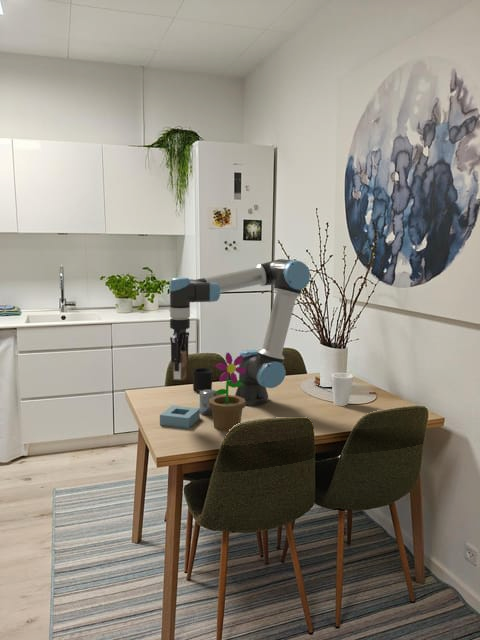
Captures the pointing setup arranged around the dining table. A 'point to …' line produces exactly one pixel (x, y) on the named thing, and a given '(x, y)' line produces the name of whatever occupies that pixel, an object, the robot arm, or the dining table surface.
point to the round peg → (206, 401)
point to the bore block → (180, 416)
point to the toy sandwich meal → (317, 380)
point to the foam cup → (341, 388)
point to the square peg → (182, 366)
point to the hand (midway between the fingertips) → (179, 377)
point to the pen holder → (202, 379)
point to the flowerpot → (228, 397)
